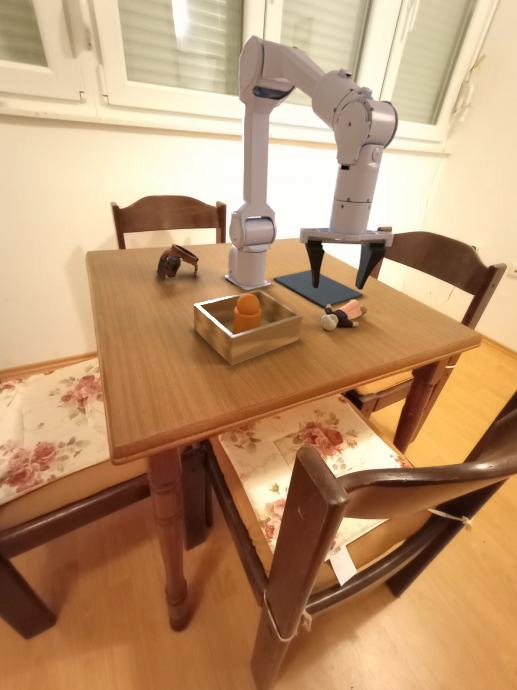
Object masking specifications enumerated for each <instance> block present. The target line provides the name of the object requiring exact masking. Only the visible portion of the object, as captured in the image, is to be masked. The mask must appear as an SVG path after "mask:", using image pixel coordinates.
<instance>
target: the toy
mask: <svg viewBox="0 0 517 690" xmlns="http://www.w3.org/2000/svg"><path fill="white" fill-rule="evenodd" d="M261 313H262V311H261V309H260V302H259V300H258V298H257V297H256V296H255V295H253V294H250V293H246V294H243V295H241V296H240V297H239V299H238V301H237V306H236V307H235V309H234V326H233V335H235V334H238V333H242V332H245V331H248V330H251V329H254V328H257V327H260V323H261Z"/></svg>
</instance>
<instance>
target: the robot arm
mask: <svg viewBox="0 0 517 690" xmlns="http://www.w3.org/2000/svg"><path fill="white" fill-rule="evenodd" d="M241 49H242V50H241V52H240V55H239V58H238V100H239V101H240V102H241V103H242V202H241V203H240V204H238V205H237V206H236V207H235V208H234V209H233V210H232V211H231V214H230V224H229V228H228V234H229V235H228V236H229V239H230V243H232V245H231V247H230V249H229V252H228V266H227V267H228V269H227V275H225V276H224V278H225V279H226V280H228V281H229V282H231V283H233V284H234V285H237V286H238V287H240V288H241V289H243V290H244V291H251V290H255V289H260V288H263V287H267V286H270V285H272V282H269V281H268V280H266V279H265V277H266V276H265V275H266V265H267V256H268V255H267V254H268V250H270V249H271V245H273V243H274V242H275V241H276V238H277V234H278V229H277V228H278V227H277V223H276V212H275V211H274V209H273V208H272V207H271V206H270V205H269V204H268V203H267V202H268V201H267V200H268V199H267V198H268V196H267V195H268V169H269V167H268V166H269V165H268V164H269V143H270V141H269V140H270V139H269V137H270V116H271V113H273V110H274V109H275V108H278V107H281V105H283V103H284V102H285V101H286V100H287V99H288V98H289V97H290V95H292V94H293V93H294V92H295V91H296V90H297V88H298V89H299V90H300V91H301V92H302V93H304V95H307V96H308V97H309V98H310V99H311V109H312V111H313V113H314V115H315V116H316V117H318V119H320V120H321V121H322V122H323V123H324V124H325V125H326V126H327V127H328V128H329V129H331V130H332V131H333V135H334V141H335V145H336V149H337V150H336V160H337V161H336V162H337V164H338V167H337V173H336V180H335V184H334V185H335V187H334V193H333V199H332V205H331V211H330V218H329V225H328V227H311V228H309V227H308V228H307V227H300V229H299V238H298V241H299V243H301V244H304V247H305V250H306V253H307V257H308V260H309V266H310V270H311V273H312V286H313V288H318V286H319V279H320V274H321V269H322V264H323V260H324V256H325V252H326V250H325V249H324V245H323V244H335V245H336V244H337V245H360V256H359V264H358V268H357V273H356V276H355V282H354V283H355V284H354V286H355V287H356V288H357V290H358V291H359V290H360V291H362V290H363V289H364V287H365V285H366V283H367V281H368V279H369V278H370V275H371V273H372V272H373V271H374V269H375V268H376V267H377V265H378V264H379V263H380V261H382V259H383V258H384V257H385V256H386V254H387V248H385V247H389V248H390V247H391V248H392V245H393V242H394V237H395V234H394V233H392V232H391V231H383V230H380V231H379V230H370V229H368V223H369V220H370V215H371V211H372V205H373V201H374V195H375V191H376V187H377V183H378V178H379V172H380V168H381V164H382V159H383V153H384V150H385V149H387V148H388V147H389V146H390V144H391V143H392V142H393V140H394V139H395V137H396V134H397V131H398V127H399V114H398V111H397V109H396V107H395V106H393V103H392V101H389V100H380V101H379V100H374V98H373V96H372V95H373V90H372V89H371V88H370V87H367V86H362V87H361V86H360V85H358V84H357V83H356V82H355V81H354V80H352V77H353V72H351V71H350V70H349V69H346V68H343V67H341V68H339V70H338V69H333V70H329V71H328V72H326V71H325V70H323V69H322V68H321V67H320V66H319V65H318V64H317V63H316V62H315V61H314V59H312V58H311V57H310V56H309V55H308V54H307V52H306V51H305V50H303V49H300V48H299V47H297V46H294V45H293V46H290V45H286V44H283V43H279V42H276V41H271V40H268V39H264V38H261V37H260V36H258V35H255V34H252V35H250V36H249V37H248V38H247V39H246V41H245V43H244V45H243V46H242V48H241Z"/></svg>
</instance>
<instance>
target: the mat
mask: <svg viewBox="0 0 517 690" xmlns="http://www.w3.org/2000/svg"><path fill="white" fill-rule="evenodd" d="M273 281H275V282H276V283H279V284H280V285H282V286H284V287H286V288H287V289H288V290H291V291H293V292H295V293H296V294H298V295H300V296H302V297H303V298H305V299H307V300H309V301H311V302H312V303H314V304H315V305H317V306H319V307H321V308H323V309H325V308H326V306H327V305H328V304H330V305H331V307H332V306H335V305H340V304H342V303H344V302H349V301H350V300H352V299H353V300H354V299H357V298H361V297H363V295H364V294H363V293H361V292H359V291H357V290H356V289H354V288H351V287H349V286H347V285H345V284H342V283H341V282H338V281H336V280H334V279H331V278H330V277H328V276H325V275H323V274H321V273H320V279H319V286H318V288H313V286H312V273H311V269H309V270H304V271H300V272H295V273H291V274H285V275H281V276H277V277H273Z"/></svg>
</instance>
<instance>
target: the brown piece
mask: <svg viewBox="0 0 517 690" xmlns="http://www.w3.org/2000/svg"><path fill="white" fill-rule="evenodd" d="M171 244H172V245H171V246H170V247H168V248H167V249H165V250H164V251H163V252H162V253H161V255H160V257H159V259H158V264H157V270H156V274H157V275H158V277H160V278H162V280H163V279H166V276H167V277H168V278H169V279H171V278H173V279H174V278H176V277H177V273H178V270H179V269H180V267H181V265H182V262H185V263H187V264H190V265H192V266H193V267H194V271H193V276H197V273H198V270H199V265H198V262H199V260H200V259H199V257H198V256H197V255H195V254H194V253H193V252H191V251H190V250H188V249H187V248H185V247H183V246H180V245H179V244H175V243H171Z"/></svg>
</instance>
